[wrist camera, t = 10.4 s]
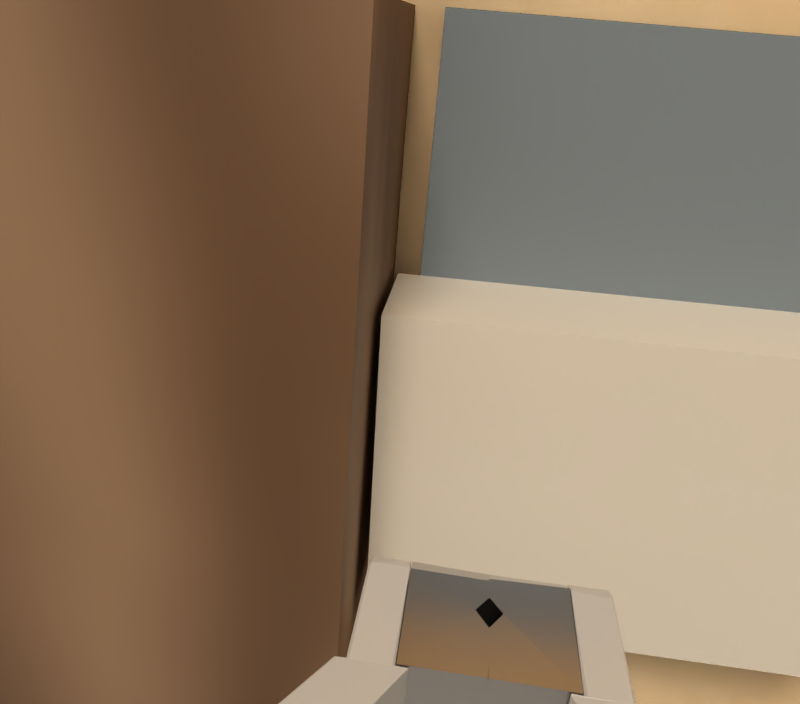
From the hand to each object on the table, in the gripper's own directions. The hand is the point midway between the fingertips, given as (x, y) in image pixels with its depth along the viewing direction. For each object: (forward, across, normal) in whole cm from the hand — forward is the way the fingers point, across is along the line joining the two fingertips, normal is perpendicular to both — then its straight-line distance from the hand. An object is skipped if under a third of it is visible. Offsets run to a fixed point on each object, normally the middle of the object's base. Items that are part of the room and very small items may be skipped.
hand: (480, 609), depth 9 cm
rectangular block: (+5, -3, 0) cm, 5 cm away
